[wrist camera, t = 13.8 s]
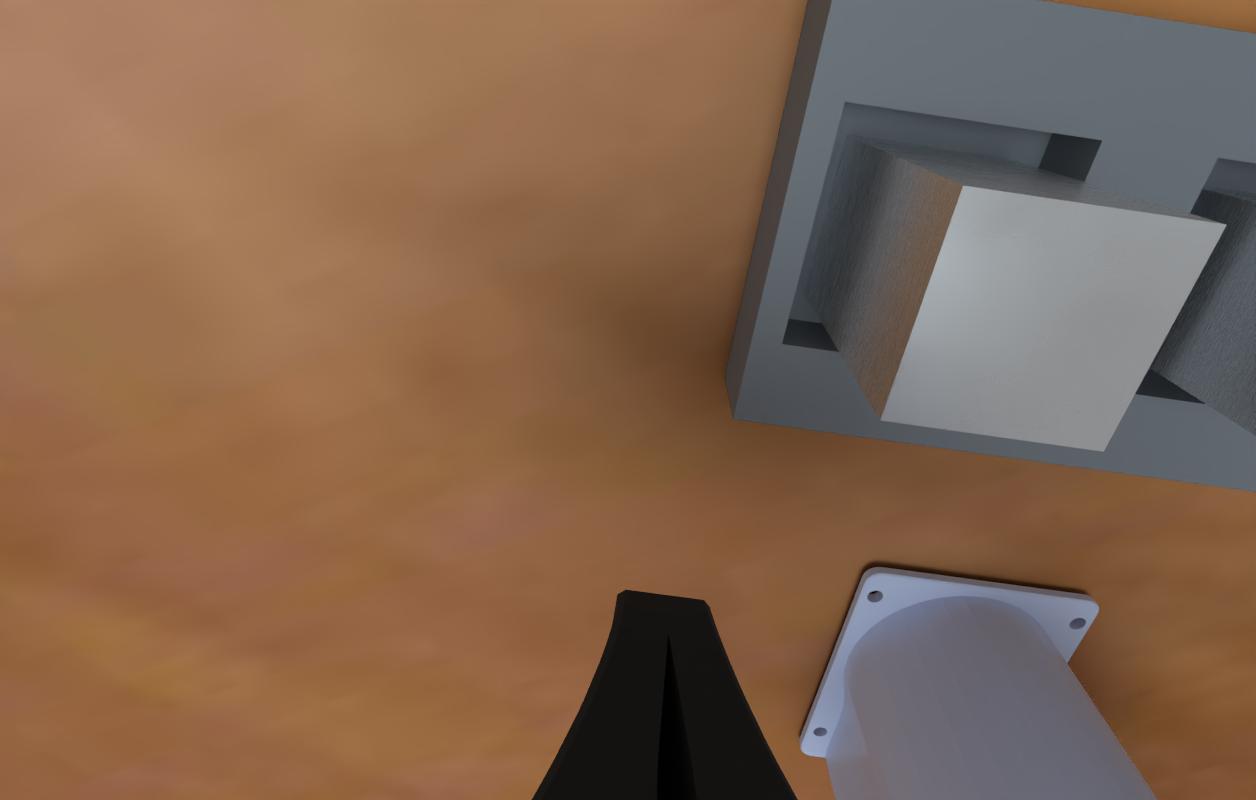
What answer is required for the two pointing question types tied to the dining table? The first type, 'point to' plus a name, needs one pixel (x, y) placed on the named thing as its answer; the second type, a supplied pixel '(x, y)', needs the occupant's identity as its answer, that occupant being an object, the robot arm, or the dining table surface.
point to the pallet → (1005, 128)
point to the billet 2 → (1219, 315)
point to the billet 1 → (998, 291)
